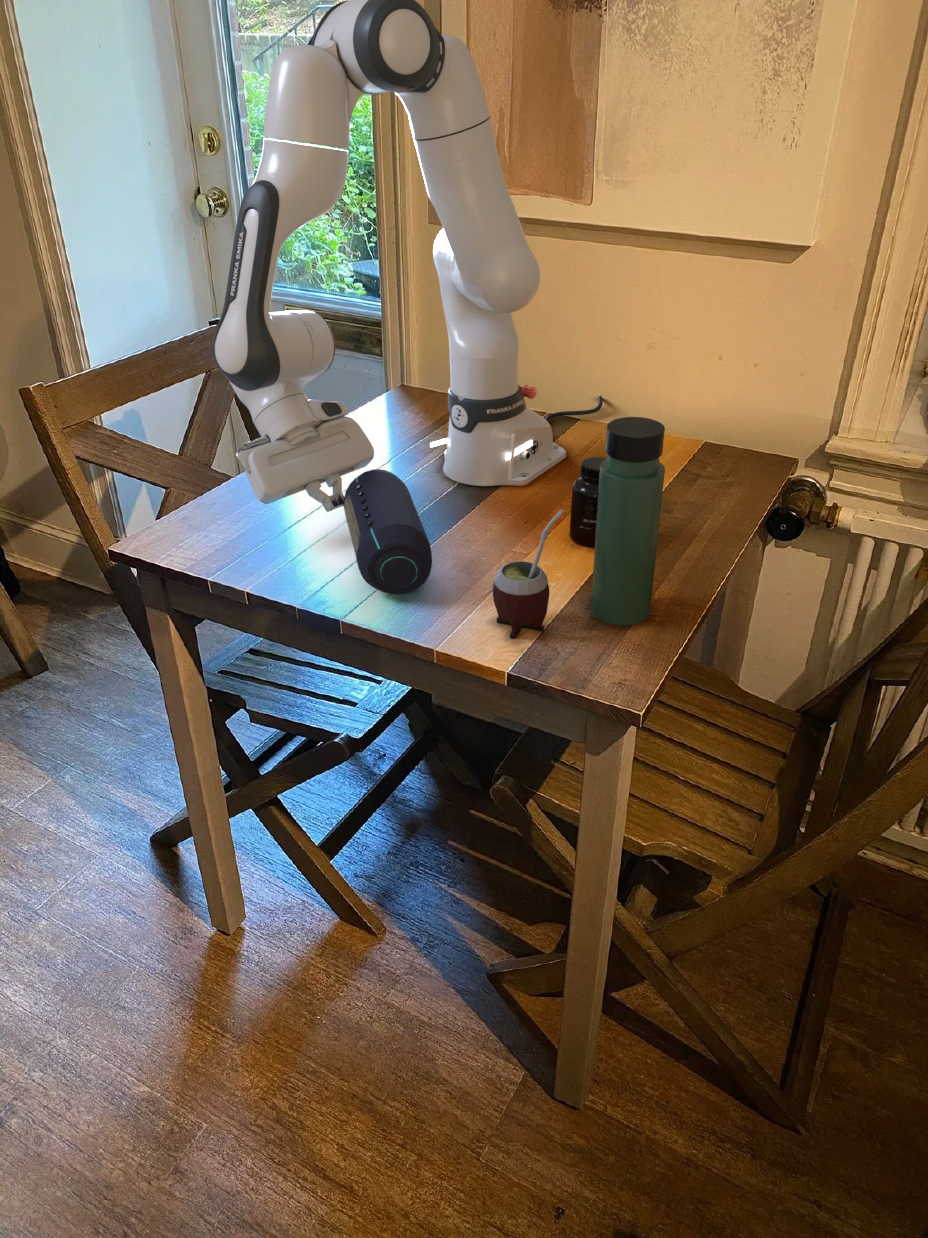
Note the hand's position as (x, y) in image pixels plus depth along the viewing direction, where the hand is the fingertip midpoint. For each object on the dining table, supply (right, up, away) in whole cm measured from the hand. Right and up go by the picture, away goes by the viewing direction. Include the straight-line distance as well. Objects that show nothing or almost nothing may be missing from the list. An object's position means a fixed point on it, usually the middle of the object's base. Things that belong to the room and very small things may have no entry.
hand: (337, 507), depth 139 cm
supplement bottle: (+38, -5, 0) cm, 38 cm away
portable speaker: (+8, -8, -4) cm, 12 cm away
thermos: (+39, -15, -17) cm, 45 cm away
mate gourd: (+26, -17, -19) cm, 37 cm away
